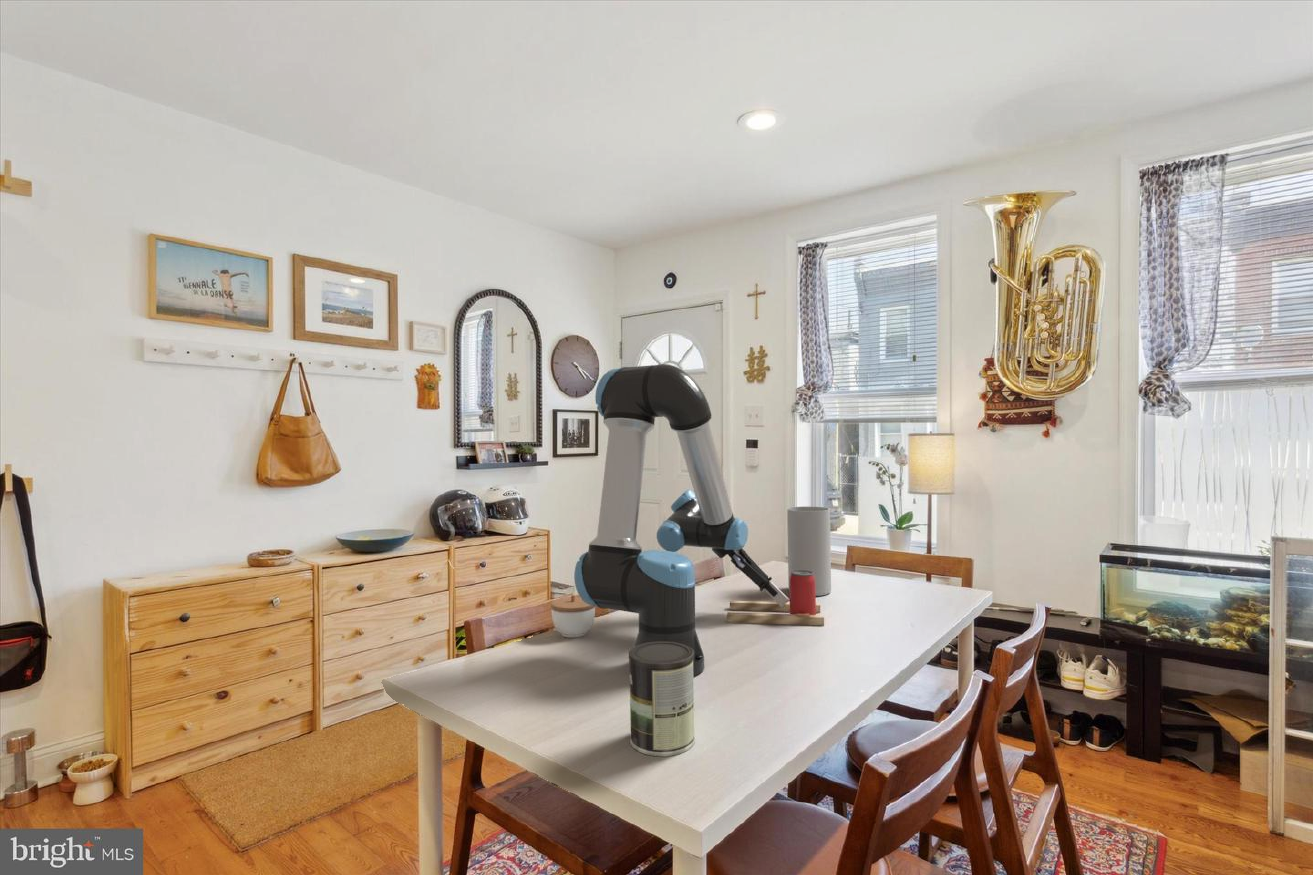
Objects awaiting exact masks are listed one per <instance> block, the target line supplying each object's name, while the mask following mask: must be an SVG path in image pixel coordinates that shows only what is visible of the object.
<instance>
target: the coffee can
mask: <svg viewBox="0 0 1313 875" xmlns="http://www.w3.org/2000/svg"><path fill="white" fill-rule="evenodd" d="M634 646H635V645H634ZM634 646H633V647H631V648H630V649H629V651H628V661H629V663H628V664H629V707H630V708H629V709H630V710H629V711H630V713H629V715H630V719H629V720H630V724H629V725H630V738H629V739H630V740H629V741H630V745H631V747H632V748H633V749H634V750H636V751H637V752H639V753H640V754H644V755H646V756H652V757H672V756H677V755H681V754H683V753H685V752H687V751H689V750H690V749H691V748H692V747H693V746H694V744H695V743H696V742H695V741H696V738H695V705H694V704H695V701H694V700H695V698H694V696H695V695H694V693H695V692H694V691H695V690H694V689H695V688H694V686H695V685H694V677H693V658H694V651H693V649H692V648H691V647H689V646H687V645H685V644H682V643H677V642H670V641H655V642H647V643H643V644H640V645H637V646H635V647H634Z"/></svg>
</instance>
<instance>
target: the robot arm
mask: <svg viewBox="0 0 1313 875" xmlns="http://www.w3.org/2000/svg"><path fill="white" fill-rule="evenodd" d="M594 396H595V399H594V400H595V401H594V402H595V404H596V405H597V406H596V409H597V412H598V413H599V414H600V415H601V416H602V417H603V421H602V423H603V424H604V425H605V426H606V428H607V429H608V438H607V446H606V454H605V463H604V464H605V465H604V472H603V479H602V480H603V481H602V482H603V483H602V492H601V499H600V506H599V507H600V509H599V516H598V525H597V534H596V537H594V538H593V539H592V540H591V541H590V542H589V544H588V551H586V552H583V554H581V555H580V556H579V560H577V562H576V564H575V569H574V573H573V574H574V576H573V577H574V584H575V590H576V592H577V595H579V597H581V599H582V600H583V601H584V602H585V603H587V604H589V605H592V606H595V608H596V607H597V608H599V609H601V610H604V609H608V610H614V611H620V612H621V611H622V612H628V613H635V614H638V632H637V636H636V640H635V643H634V646H633V647H635V646H637V645H640V644H643V643H647V642H655V641H670V642H677V643H682V644H685V645H687V646H689V647H691V648H692V649H693V651H694V658H693V678H694V677H696V676H699V675H700V674H701V673H702V672H703V671H704V670H705V656H704V652H703V649H702V645H701V643H700V640H699V639H700V638H699V637H698V633H697V631H696V577H695V568H694V564H693V561H692V560H691V559H690V558H689V557H687V556H686V555H683V554H681V553H678V551H679V550H681V549H683V548H684V547H696V548H711V551H712V552H713V553H714V554H715V555H716V556H717V557H718V558H720V559H723V558H724V557H726V556H727V555H728V557H730V562H731V563H732V564H733V565H734V566H735V568H737V569H738V570H740V571H741V572H742V573H743V574H744V575H745V576H746V577H747V578H749V580H751V581H752V582H753V583H754V584H755V585H756V586H758V588H759V591H760V592H762V591H764V592H765V593H766V594H768V596H770V598H772V600H774V602H777V603H778V604H779V605H780V606H781V607H782V606H783V605H785V604H786V603H787V602H790V598H789V597H787V596H786V595H785V593H784V592H783V591H782V590H780V588H779V587H778V586H776V584H774V583H773V582H772V579H773V578H772V577H771V576H768V575H767V574H766V573H765V572H764V570H762V568H761V567H760V566H759V565H758V564H757V563H756V562H755V561H754V560H753V559H752V557H750V555H749V554H748V553H747V552H746V551H745V549H743V548H744V547H745V545H746V544H747V541H748V536H749V535H748V534H749V530H748V529H749V528H748V525H747V523H746V522H745V520H744V519H741V518H738V517H736V518H735V515H734V513H733V510H732V507H731V506H732V505H731V502H730V498H729V495H728V490H727V487H726V483H725V479H724V475H723V471H722V468H721V464H720V460H719V457H718V453H717V449H716V445H715V444H716V443H715V441H714V437H713V435H712V434H713V433H712V430H711V426H710V422H711V420H712V417H713V416H712V412H711V408H710V404H709V401H708V400H707V398H706V396H705V393H704V392H703V391H702V389H701V387H700V386H699V385H698V384H697V382H696V381H695V379H693V378H692V377H691V376H690V375H689V374H688V373H687V372H685V371H684V370H683V369H681V368H679V367H677V366H675V365H672V364H669V363H666V364H665V363H664V364H663V363H661V364H660V363H658V364H654V365H653V364H652V365H639V366H622V367H619V368H613V369H610V370H608V371H607V372H605V373H604V374H603V375H602V376H601V378H600V379H599V380H598V383H597V387H596V390H595V395H594ZM660 417H661V418H662V417H664V418H666V419H667V420H668V424H669V426H670V429H671V430H672V431H674V432H676V434H677V437H678V438H677V439H678V441H679V445H680V447H681V452H682V454H683V458H684V460H685V465H686V468H687V472H688V475H689V479H690V482H691V485H692V489H693V490H691V489H686V490H685V491H684V492H683V493H682V494H681V495H680V496H679V497H678V498H677V499H676V500H675V501H674V502H673V503H672V504H671V505H670V509H671V510H672V512H673V513H672V514H671V515H670V516H669V517H668V518H666V520H664V521H663V522H662V524H661V525H660V526H659V527H658V529H657V531H656V540H657V543H658V545H659V546H660V547H661V548H662V549H663V550H658V549H657V550H656V549H652V550H651V549H650V550H644V551H643V550H642V546H640V544H639V543H638V541H637V531H638V522H639V512H640V501H641V491H642V483H643V472H644V465H645V464H644V463H645V452H646V444H647V442H646V441H647V436H648V434H649V433H650V432H651V431H652V430H653V429H654V428H655V421H656V418H660Z"/></svg>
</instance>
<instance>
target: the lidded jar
mask: <svg viewBox="0 0 1313 875" xmlns="http://www.w3.org/2000/svg"><path fill="white" fill-rule="evenodd" d="M570 597H571V598H570ZM550 608H551V619H552V624H553V626H554V628H555V629H556V631H557V632H559V633H560V635H561V636H562V637H564V638H580V637H583V636H585V635H587V632H588V631H589V630H590V629H591V628H592V626H593V624H594V621H595V614H596V606H592V605H589V604H587V603H585V602H584V601H583V600H582V599H581V597H580V596H576V594H571V595H570V596H566V597H560V598H557V599H555V600H553V601H551V603H550Z"/></svg>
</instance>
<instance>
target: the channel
mask: <svg viewBox="0 0 1313 875" xmlns="http://www.w3.org/2000/svg"><path fill="white" fill-rule="evenodd" d="M729 610H730V611H731V612H729V611H728V612H727V613H726V622H727V623H733V624H735V623H736V624H738V623H739V624H766V625H767V624H769V625H793V626H794V625H796V626H798V625H799V626H823V627H824V626H825V616H824V615H823V614H822V615H821V614H820V613H821V603H819V602H816V613H817V614H816V615H809V613H797V614H790V601H788V602H787V603H786V604H785V605H783V606H782V607H781V606H780V605H779V604H778V603H777V602H776V601H756V600H755V601H754V600H753V601H752V600H748V601H747V600H742V601H741V600H729ZM732 611H734V612H732ZM735 611H751V612H735ZM753 611H755V612H753ZM756 611H759V612H761V613H758V612H757V613H756ZM762 612H764V613H762ZM765 612H783V613H765ZM784 612H786V613H784ZM818 613H819V614H818Z"/></svg>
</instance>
